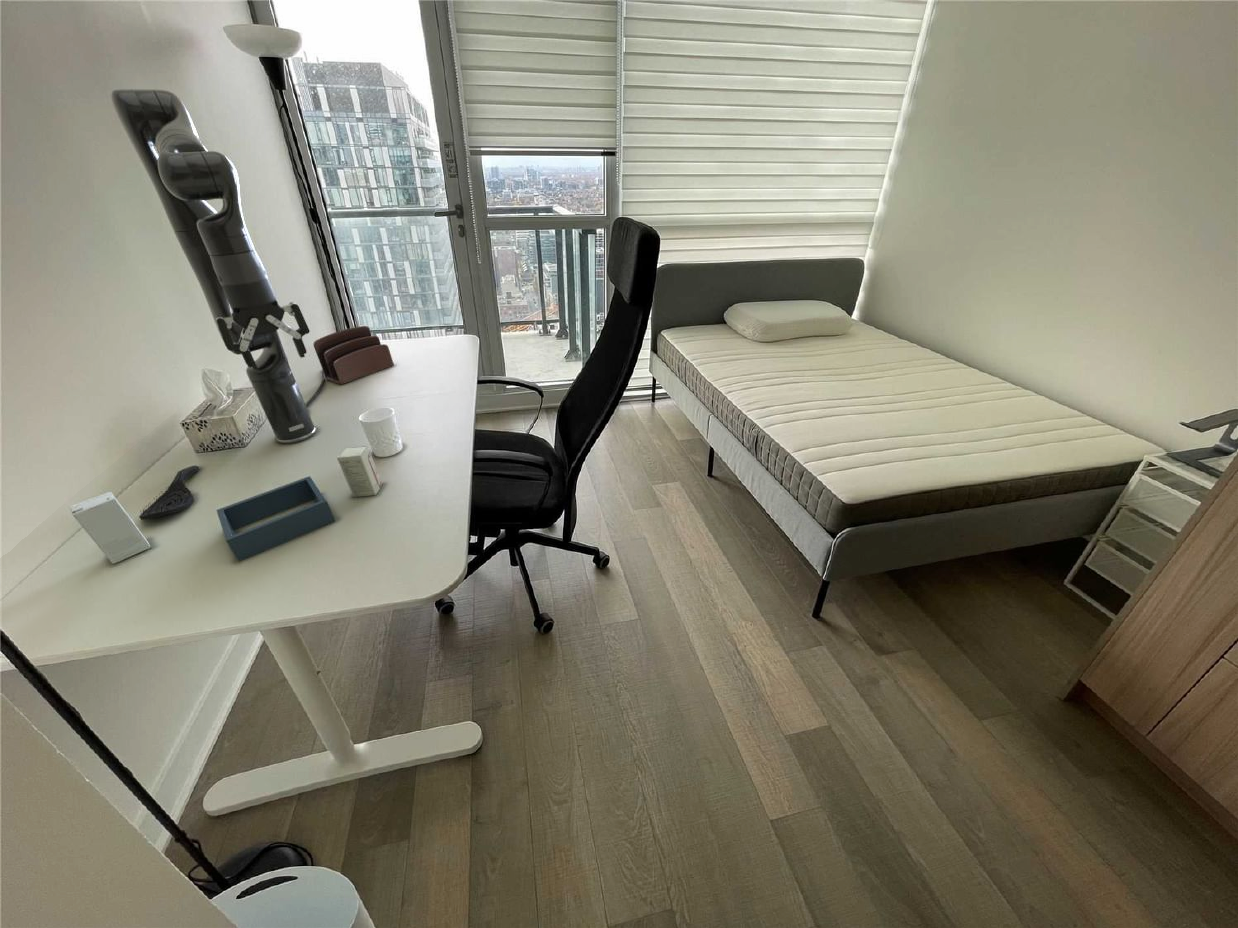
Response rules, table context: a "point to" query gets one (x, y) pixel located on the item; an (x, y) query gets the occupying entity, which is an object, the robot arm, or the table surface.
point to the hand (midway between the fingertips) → (279, 362)
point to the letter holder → (351, 354)
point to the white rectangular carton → (360, 471)
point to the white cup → (381, 431)
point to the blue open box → (276, 528)
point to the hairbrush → (172, 496)
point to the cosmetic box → (110, 527)
